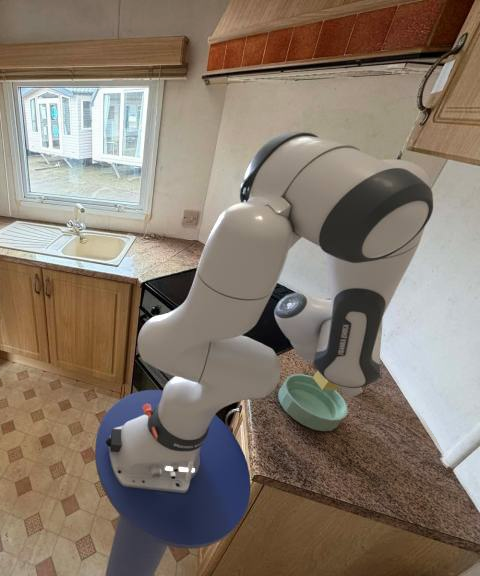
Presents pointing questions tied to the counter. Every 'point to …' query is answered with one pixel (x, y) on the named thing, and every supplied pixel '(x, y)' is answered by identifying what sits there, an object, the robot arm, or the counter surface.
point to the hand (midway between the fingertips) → (334, 373)
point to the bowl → (312, 403)
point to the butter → (324, 382)
